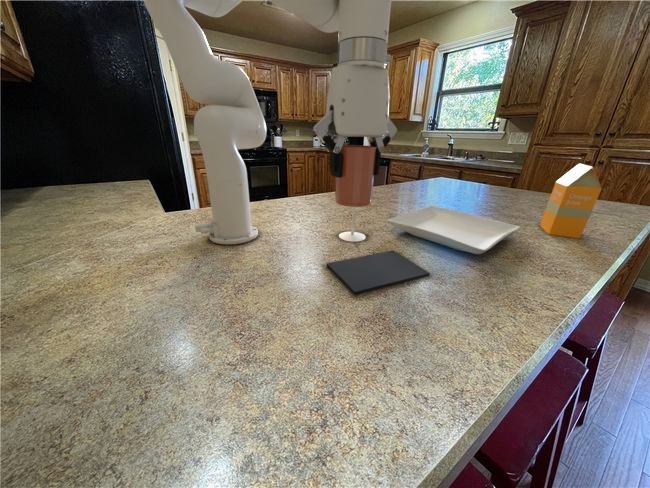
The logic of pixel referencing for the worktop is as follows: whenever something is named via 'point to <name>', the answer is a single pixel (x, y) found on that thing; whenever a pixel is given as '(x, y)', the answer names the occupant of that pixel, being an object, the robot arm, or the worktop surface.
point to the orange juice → (571, 202)
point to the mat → (376, 271)
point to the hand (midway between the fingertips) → (354, 174)
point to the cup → (356, 176)
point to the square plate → (454, 228)
